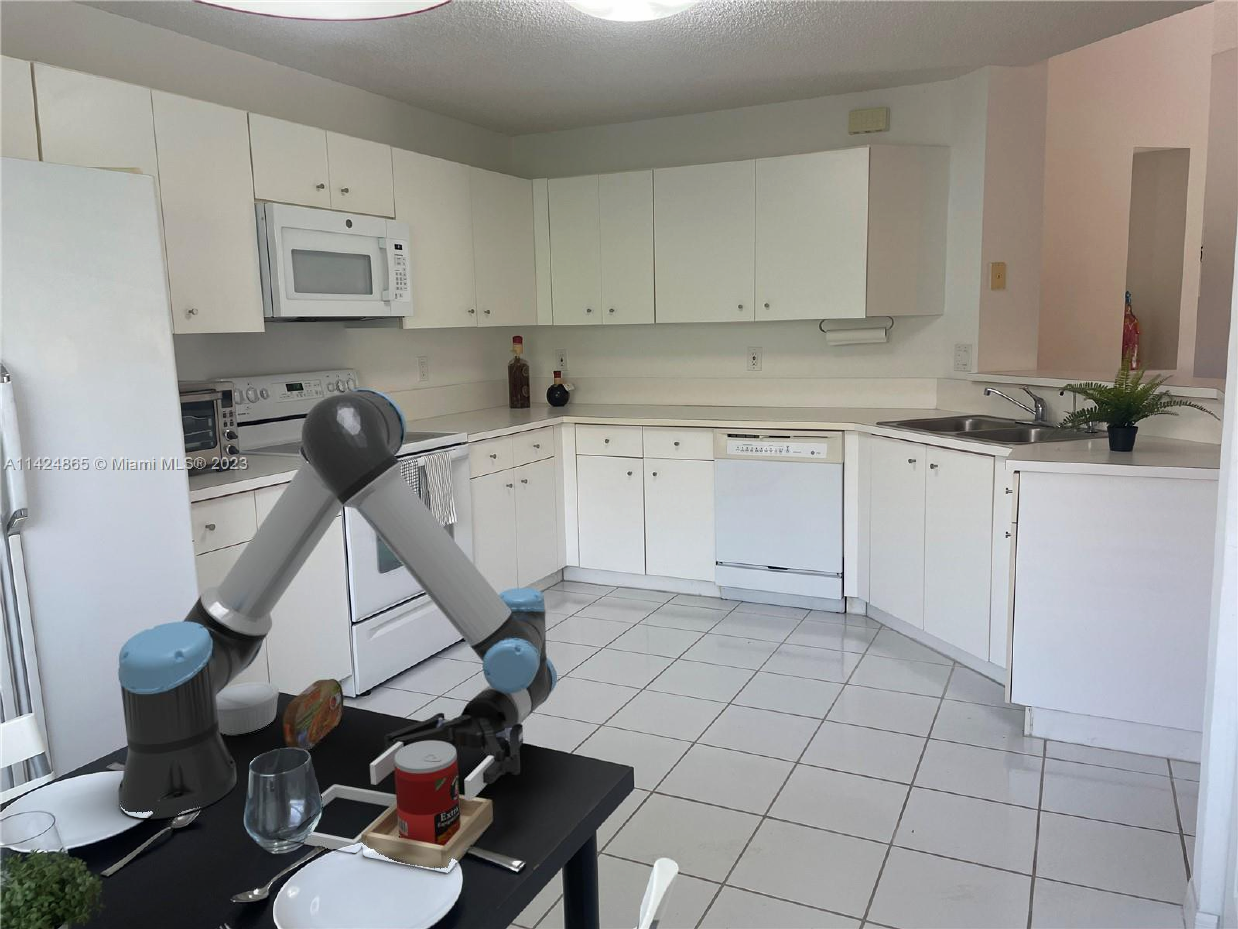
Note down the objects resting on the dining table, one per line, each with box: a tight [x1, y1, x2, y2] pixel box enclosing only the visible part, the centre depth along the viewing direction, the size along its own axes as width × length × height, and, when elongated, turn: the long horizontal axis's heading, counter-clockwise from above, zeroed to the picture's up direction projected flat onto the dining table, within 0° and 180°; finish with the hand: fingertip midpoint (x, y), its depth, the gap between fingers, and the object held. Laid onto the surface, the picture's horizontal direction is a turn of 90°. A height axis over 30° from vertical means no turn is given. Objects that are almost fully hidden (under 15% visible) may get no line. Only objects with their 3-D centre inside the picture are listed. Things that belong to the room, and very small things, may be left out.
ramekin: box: [216, 681, 280, 736], centre depth 147 cm, size 11×11×5 cm
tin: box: [282, 678, 344, 752], centre depth 141 cm, size 15×3×8 cm, turn 170°
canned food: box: [394, 740, 461, 846], centre depth 112 cm, size 8×8×11 cm
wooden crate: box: [361, 794, 494, 869], centre depth 112 cm, size 12×12×3 cm
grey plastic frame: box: [303, 784, 397, 851], centre depth 116 cm, size 12×12×2 cm
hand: (419, 782), depth 109 cm, fingers open, 13 cm apart
